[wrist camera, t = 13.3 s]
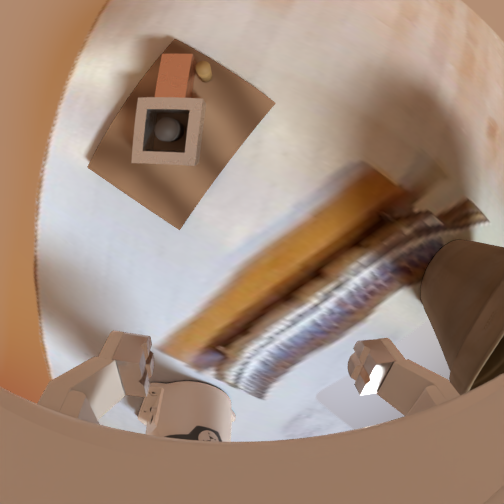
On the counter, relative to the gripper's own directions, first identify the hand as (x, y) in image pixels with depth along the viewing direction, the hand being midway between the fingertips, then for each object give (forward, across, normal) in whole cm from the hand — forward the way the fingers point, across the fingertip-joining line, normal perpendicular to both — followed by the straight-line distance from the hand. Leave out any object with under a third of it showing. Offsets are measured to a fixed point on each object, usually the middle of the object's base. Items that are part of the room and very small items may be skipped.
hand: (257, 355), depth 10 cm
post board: (+24, -8, +9) cm, 26 cm away
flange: (+22, -8, +11) cm, 26 cm away
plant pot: (+24, +39, -7) cm, 46 cm away
